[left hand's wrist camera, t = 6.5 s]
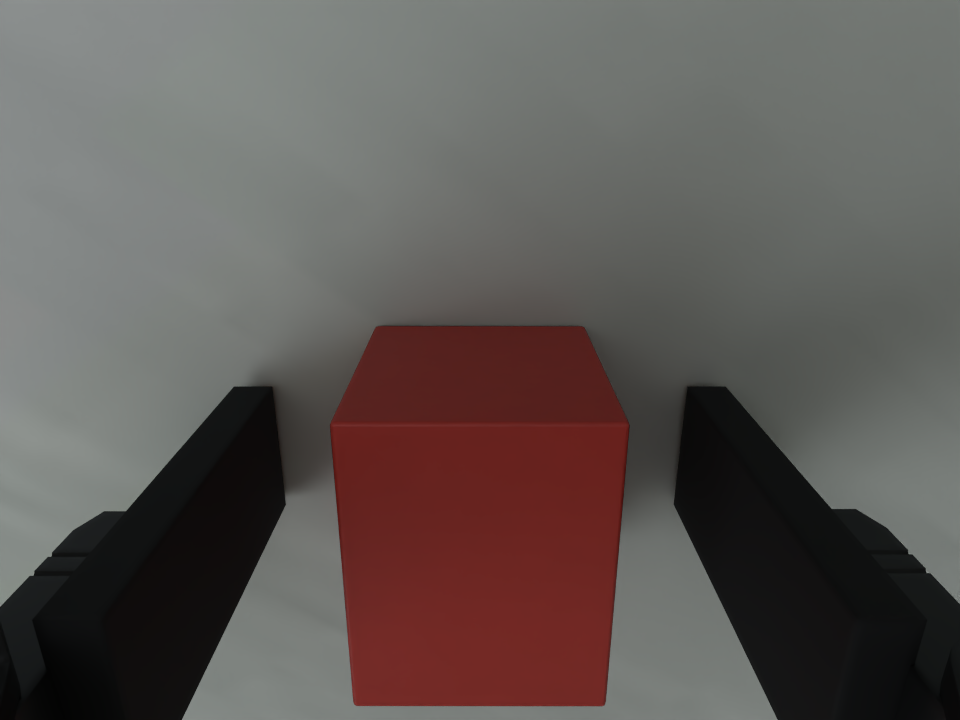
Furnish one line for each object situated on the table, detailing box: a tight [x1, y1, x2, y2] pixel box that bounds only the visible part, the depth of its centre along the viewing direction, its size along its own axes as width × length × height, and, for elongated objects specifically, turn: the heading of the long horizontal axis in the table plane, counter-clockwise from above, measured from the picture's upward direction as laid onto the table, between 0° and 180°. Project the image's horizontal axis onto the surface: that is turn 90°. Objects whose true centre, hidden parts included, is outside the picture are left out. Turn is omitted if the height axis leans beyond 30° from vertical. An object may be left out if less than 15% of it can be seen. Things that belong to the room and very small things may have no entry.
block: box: [330, 326, 630, 706], centre depth 12 cm, size 4×5×4 cm
